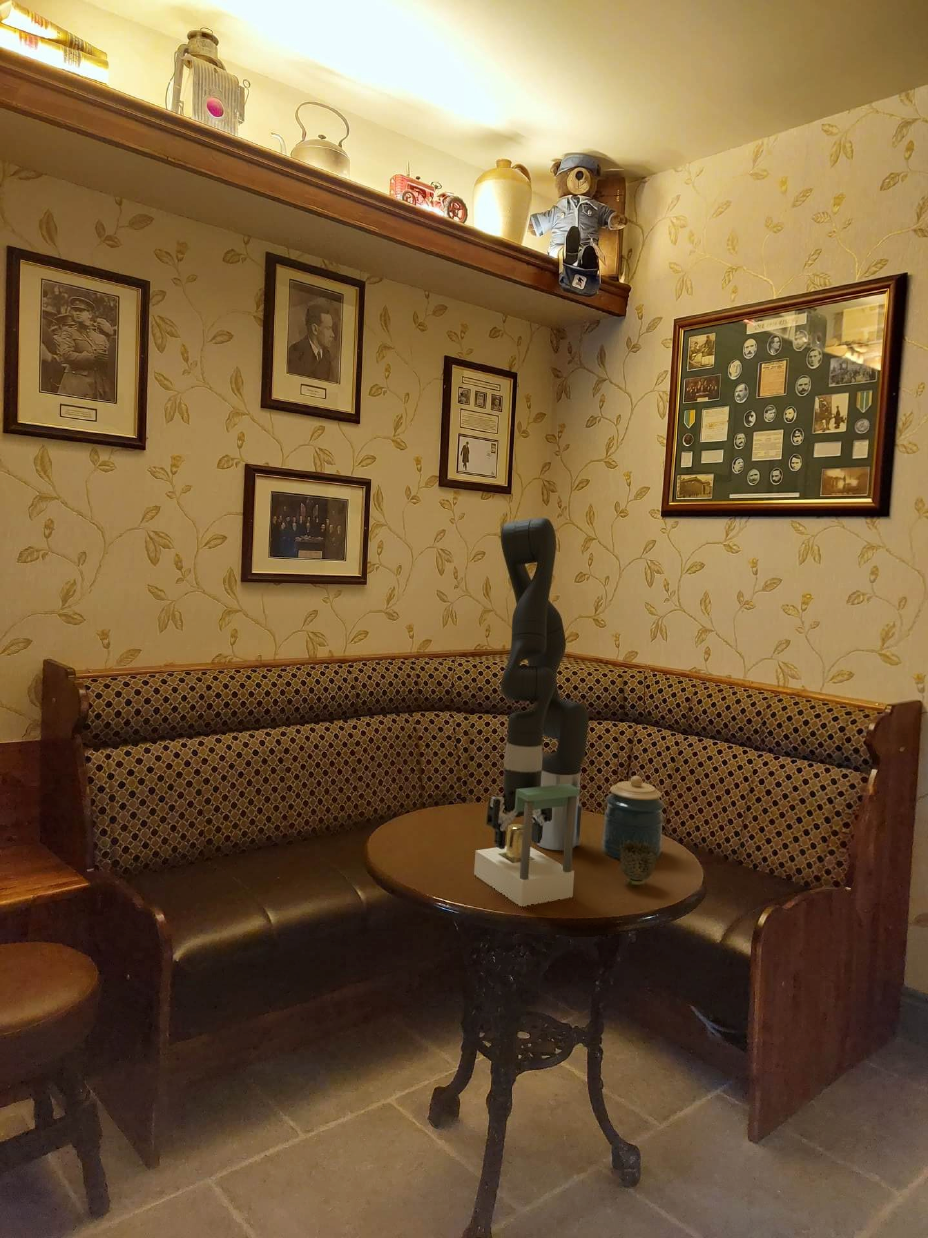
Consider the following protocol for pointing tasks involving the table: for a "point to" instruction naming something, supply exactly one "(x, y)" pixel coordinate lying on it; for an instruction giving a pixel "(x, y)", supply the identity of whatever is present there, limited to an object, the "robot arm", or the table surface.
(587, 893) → the table surface
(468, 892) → the table surface
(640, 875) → the cup
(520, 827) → the brass peg
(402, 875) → the table surface
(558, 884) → the socket stand
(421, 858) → the table surface
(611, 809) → the canister
